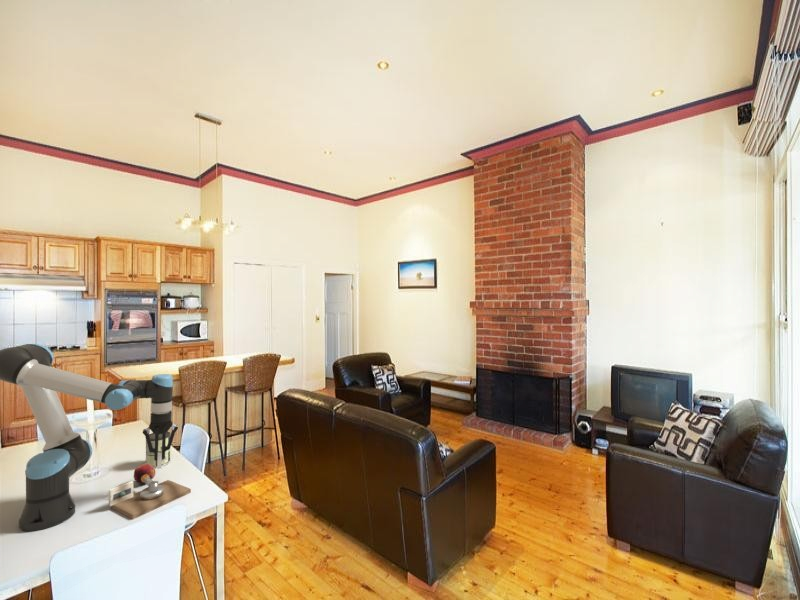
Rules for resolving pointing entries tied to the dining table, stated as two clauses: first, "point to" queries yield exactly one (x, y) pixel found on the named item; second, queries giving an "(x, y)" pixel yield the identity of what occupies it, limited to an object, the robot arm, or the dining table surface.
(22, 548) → the dining table surface
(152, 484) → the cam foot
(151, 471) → the fruit
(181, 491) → the stand
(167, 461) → the coffee can
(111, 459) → the dining table surface
